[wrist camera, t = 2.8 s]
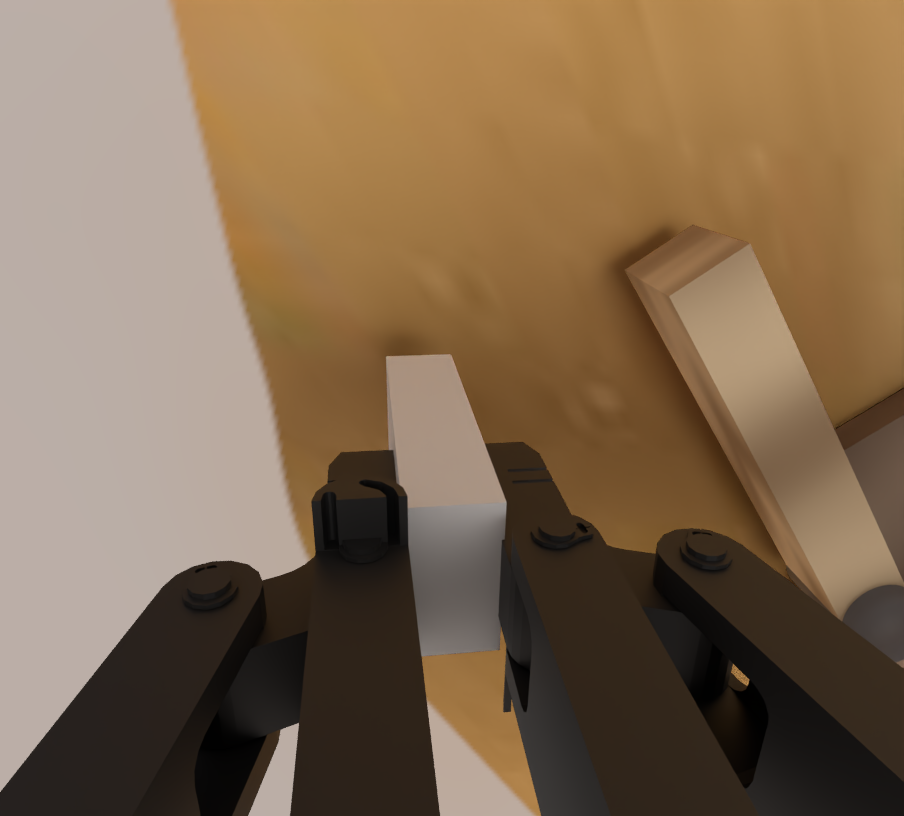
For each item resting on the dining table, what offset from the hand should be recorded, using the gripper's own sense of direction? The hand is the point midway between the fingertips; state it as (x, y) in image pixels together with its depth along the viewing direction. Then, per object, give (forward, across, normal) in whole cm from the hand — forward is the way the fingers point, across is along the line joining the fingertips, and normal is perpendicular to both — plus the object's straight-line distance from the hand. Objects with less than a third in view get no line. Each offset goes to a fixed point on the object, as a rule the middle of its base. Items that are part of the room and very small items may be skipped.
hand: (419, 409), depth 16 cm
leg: (+2, +10, -2) cm, 10 cm away
